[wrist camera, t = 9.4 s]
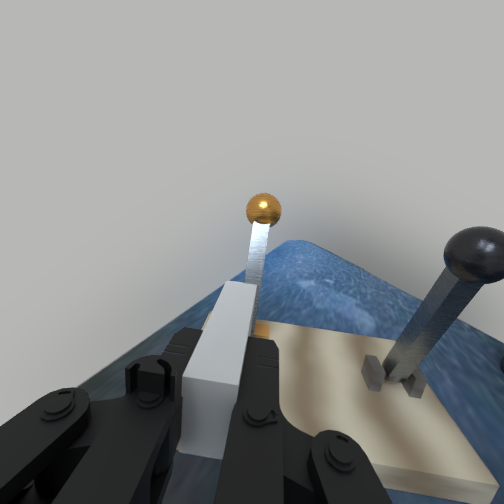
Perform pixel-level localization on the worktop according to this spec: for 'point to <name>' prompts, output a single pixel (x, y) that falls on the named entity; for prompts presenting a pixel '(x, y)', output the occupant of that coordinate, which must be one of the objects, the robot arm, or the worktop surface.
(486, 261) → the black knob lever
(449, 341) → the worktop surface
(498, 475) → the worktop surface
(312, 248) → the worktop surface
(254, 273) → the orange knob lever
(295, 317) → the worktop surface
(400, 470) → the switch board
